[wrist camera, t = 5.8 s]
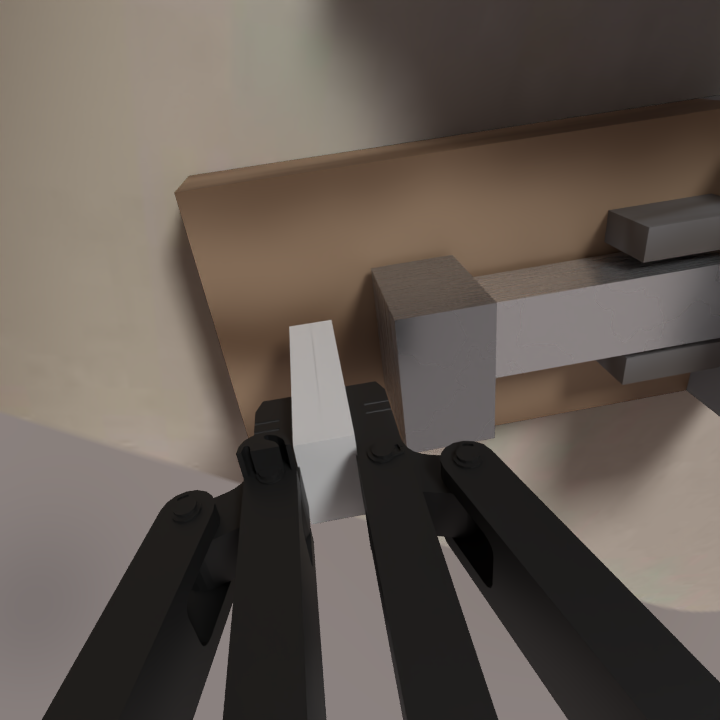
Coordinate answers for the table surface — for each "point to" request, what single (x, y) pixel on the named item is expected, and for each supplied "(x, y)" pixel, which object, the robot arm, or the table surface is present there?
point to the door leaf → (455, 240)
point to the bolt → (524, 329)
